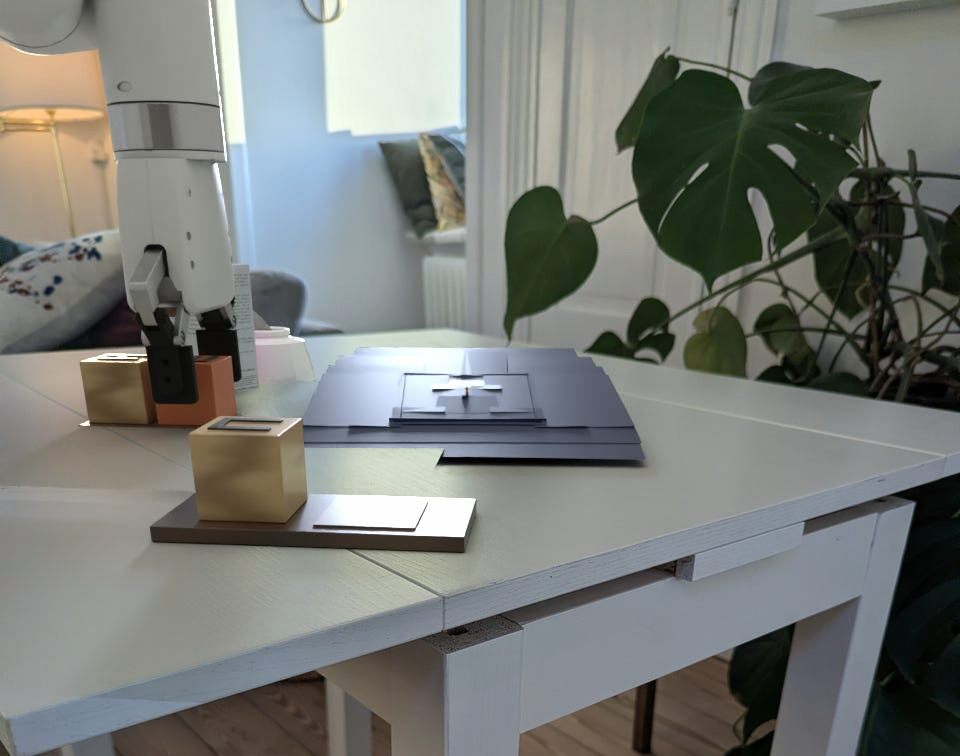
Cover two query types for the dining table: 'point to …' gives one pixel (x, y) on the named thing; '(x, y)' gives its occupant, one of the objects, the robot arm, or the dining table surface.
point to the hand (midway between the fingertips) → (200, 391)
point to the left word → (120, 392)
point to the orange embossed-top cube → (204, 394)
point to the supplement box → (243, 328)
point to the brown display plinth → (296, 498)
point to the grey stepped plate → (472, 404)
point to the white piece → (280, 354)
